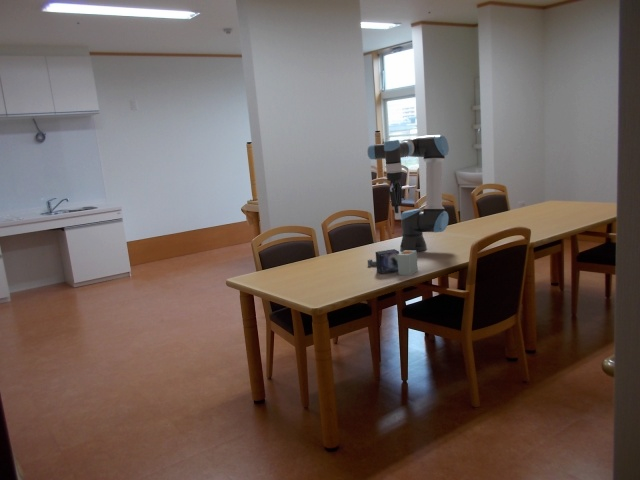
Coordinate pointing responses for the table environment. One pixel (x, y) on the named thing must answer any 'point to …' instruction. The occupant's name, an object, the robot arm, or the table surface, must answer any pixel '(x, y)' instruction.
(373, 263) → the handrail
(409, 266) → the end cabinet
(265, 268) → the table surface
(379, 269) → the small box
